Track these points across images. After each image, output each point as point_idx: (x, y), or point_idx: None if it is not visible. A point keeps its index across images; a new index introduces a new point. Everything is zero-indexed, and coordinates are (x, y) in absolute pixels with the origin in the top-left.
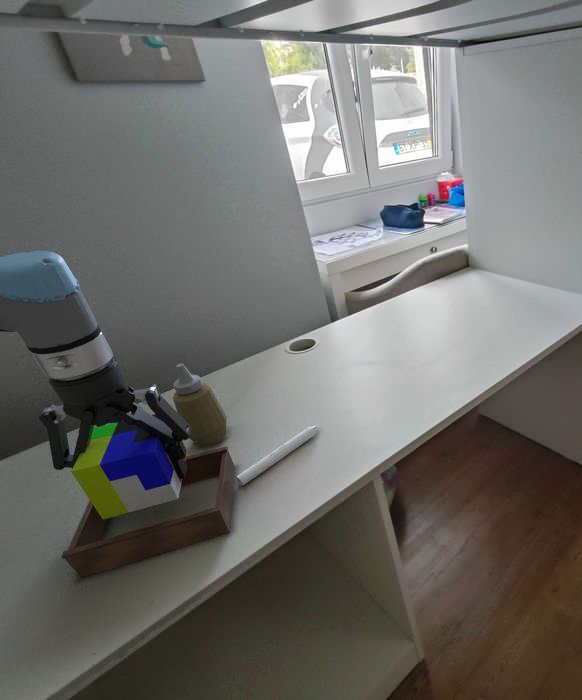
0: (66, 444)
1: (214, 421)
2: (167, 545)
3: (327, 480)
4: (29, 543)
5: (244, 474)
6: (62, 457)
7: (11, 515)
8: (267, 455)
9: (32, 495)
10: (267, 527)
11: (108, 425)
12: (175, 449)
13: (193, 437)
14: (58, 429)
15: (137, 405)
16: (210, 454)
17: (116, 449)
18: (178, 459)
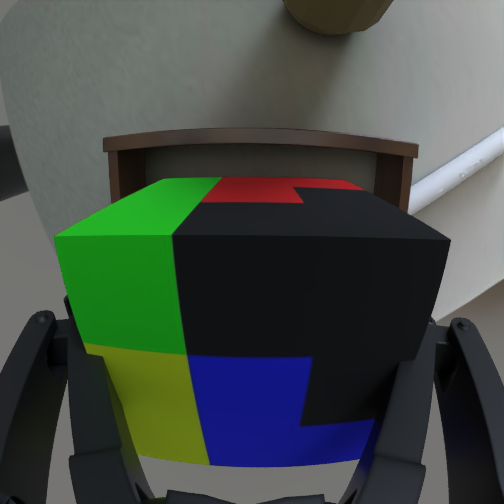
0: (40, 374)
1: (377, 16)
2: None
3: (492, 261)
4: (51, 199)
5: (415, 208)
6: (63, 392)
7: (13, 128)
8: (455, 171)
9: (23, 88)
10: None
11: (124, 249)
12: None
13: (308, 23)
14: (44, 501)
15: (415, 497)
16: (380, 152)
17: (242, 434)
18: None
